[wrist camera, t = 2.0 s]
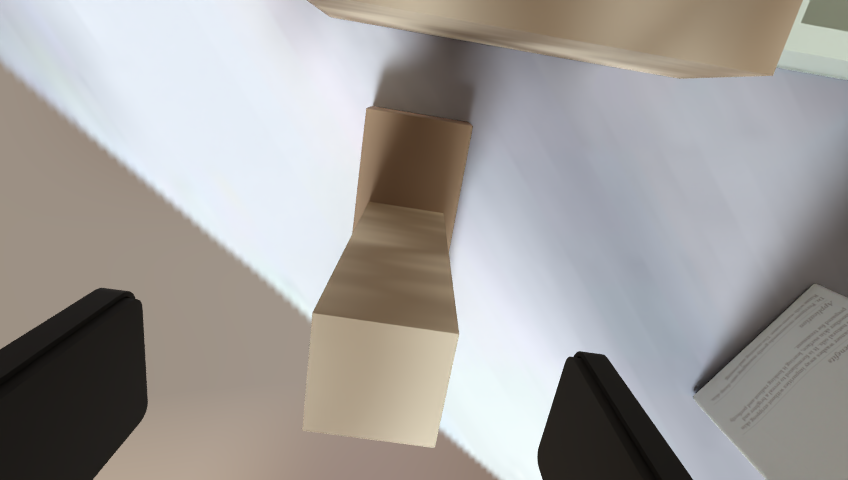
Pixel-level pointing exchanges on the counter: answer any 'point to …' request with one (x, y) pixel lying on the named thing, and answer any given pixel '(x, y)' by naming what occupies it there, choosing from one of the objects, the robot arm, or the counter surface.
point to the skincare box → (789, 392)
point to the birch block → (603, 30)
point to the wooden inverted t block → (392, 288)
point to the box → (818, 40)
